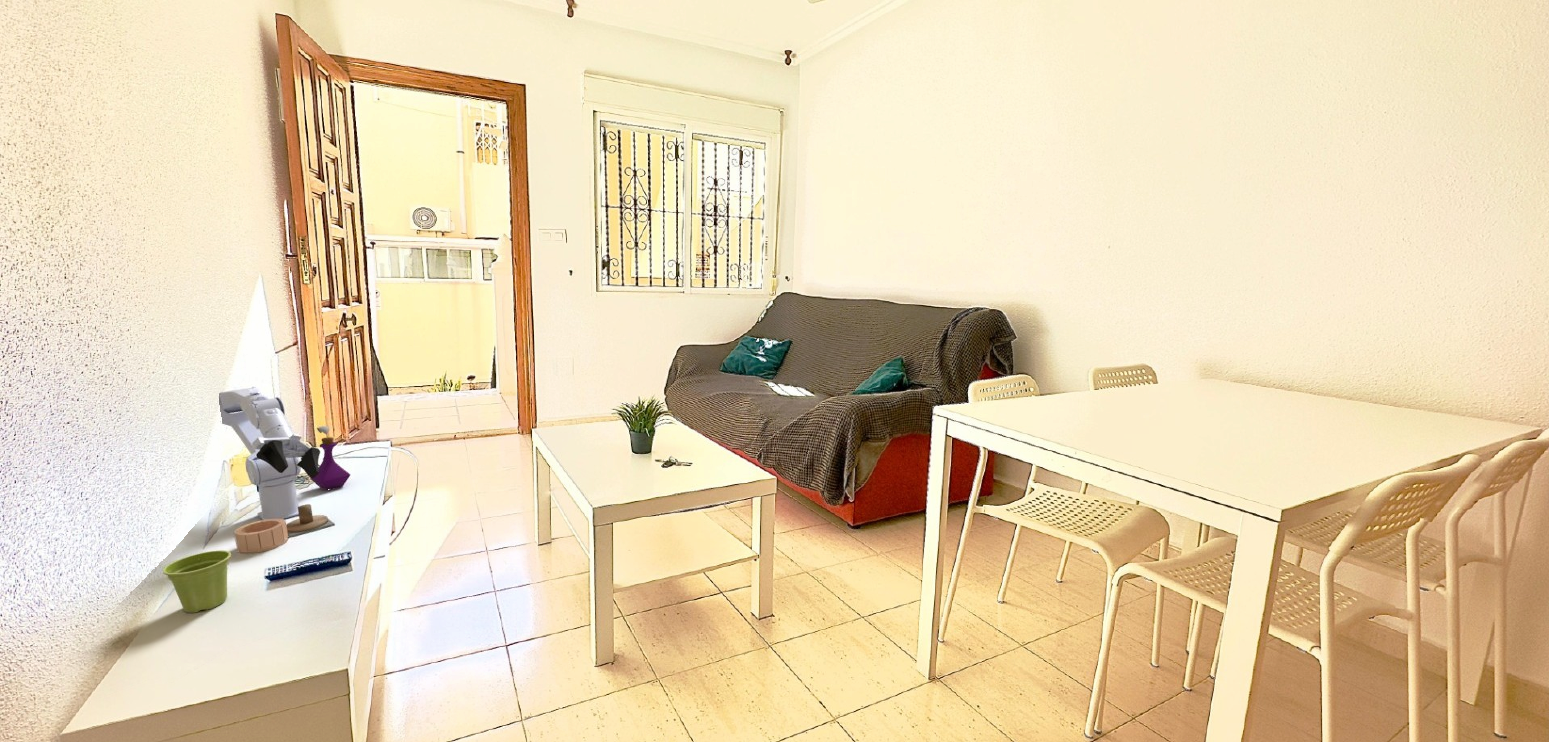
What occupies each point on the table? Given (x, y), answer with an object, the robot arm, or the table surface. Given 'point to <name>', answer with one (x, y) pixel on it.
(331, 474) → the perfume bottle
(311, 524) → the lid
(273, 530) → the peach cylinder
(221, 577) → the plant pot
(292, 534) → the mat
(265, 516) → the robot arm
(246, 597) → the table surface
